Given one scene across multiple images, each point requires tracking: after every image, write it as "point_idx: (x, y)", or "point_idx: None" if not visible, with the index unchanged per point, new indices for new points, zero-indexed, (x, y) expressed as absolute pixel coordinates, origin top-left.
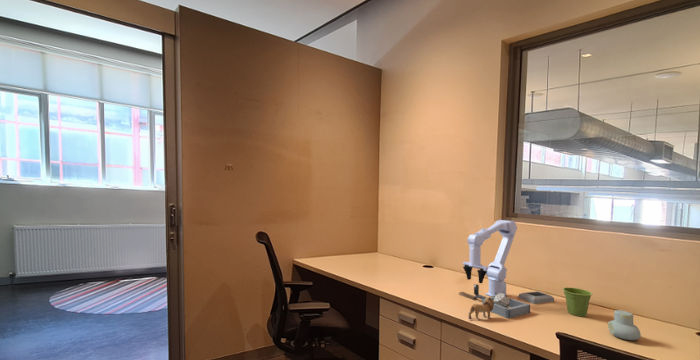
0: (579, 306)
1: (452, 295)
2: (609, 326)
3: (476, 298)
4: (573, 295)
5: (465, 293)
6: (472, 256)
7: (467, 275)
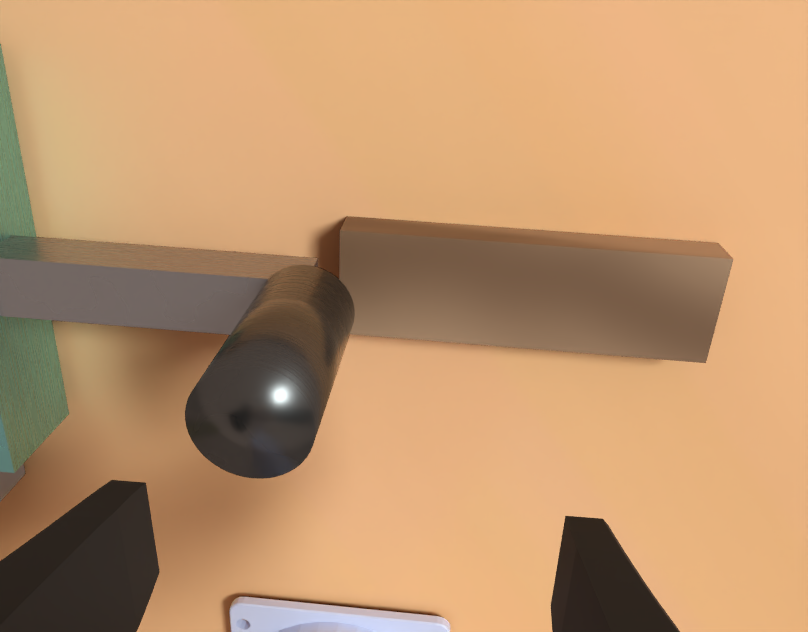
0: None
1: (778, 48)
2: None
3: None
4: None
5: (599, 315)
6: None
7: (610, 611)
